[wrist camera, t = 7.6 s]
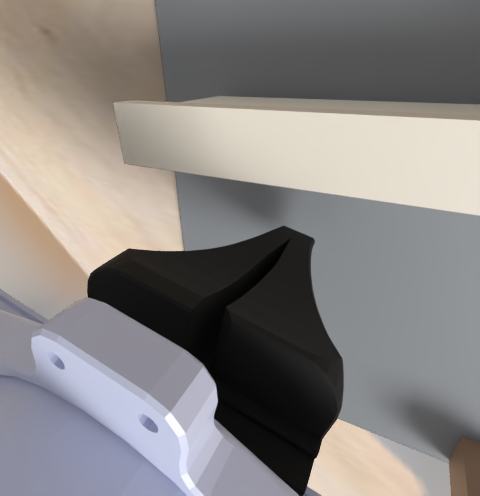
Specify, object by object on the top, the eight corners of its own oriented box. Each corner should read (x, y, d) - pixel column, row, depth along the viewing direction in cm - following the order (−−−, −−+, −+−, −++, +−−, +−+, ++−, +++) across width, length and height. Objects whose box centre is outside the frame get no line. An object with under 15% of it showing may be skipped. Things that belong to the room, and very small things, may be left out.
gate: (766, 102, 7) (1244, 157, 3) (713, 174, 8) (1035, 296, 4) (214, 89, 12) (112, 102, 8) (216, 132, 13) (124, 163, 9)
